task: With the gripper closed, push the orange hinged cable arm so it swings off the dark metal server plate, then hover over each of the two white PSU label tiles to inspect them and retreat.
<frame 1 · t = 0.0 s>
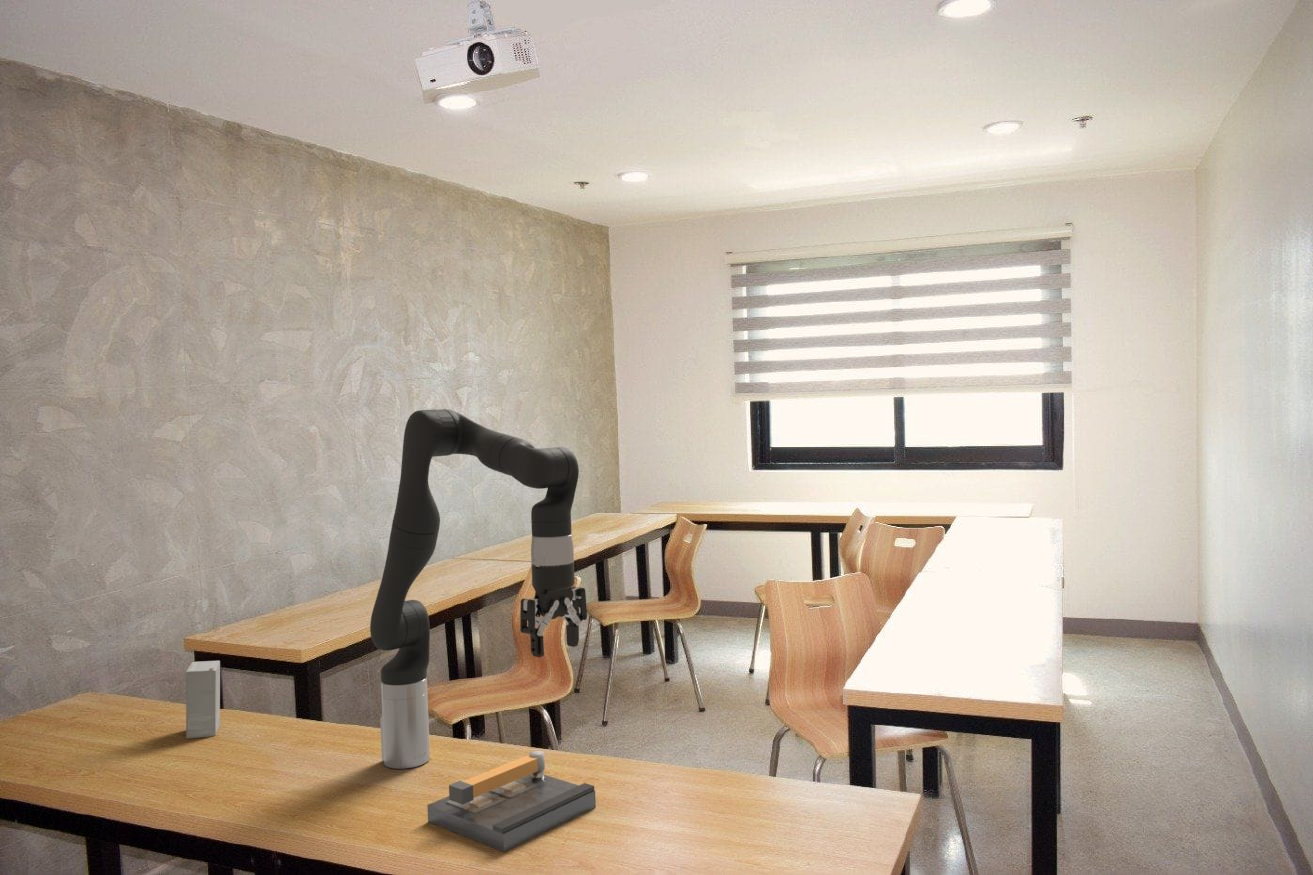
hand: (555, 651, 172), 29 cm above the table, fingers open, 8 cm apart
server plate: (512, 814, 173), on the table
cable arm: (501, 776, 176), point 6 cm above the table, hinge at 0.0°
skincare box: (204, 733, 224), on the table
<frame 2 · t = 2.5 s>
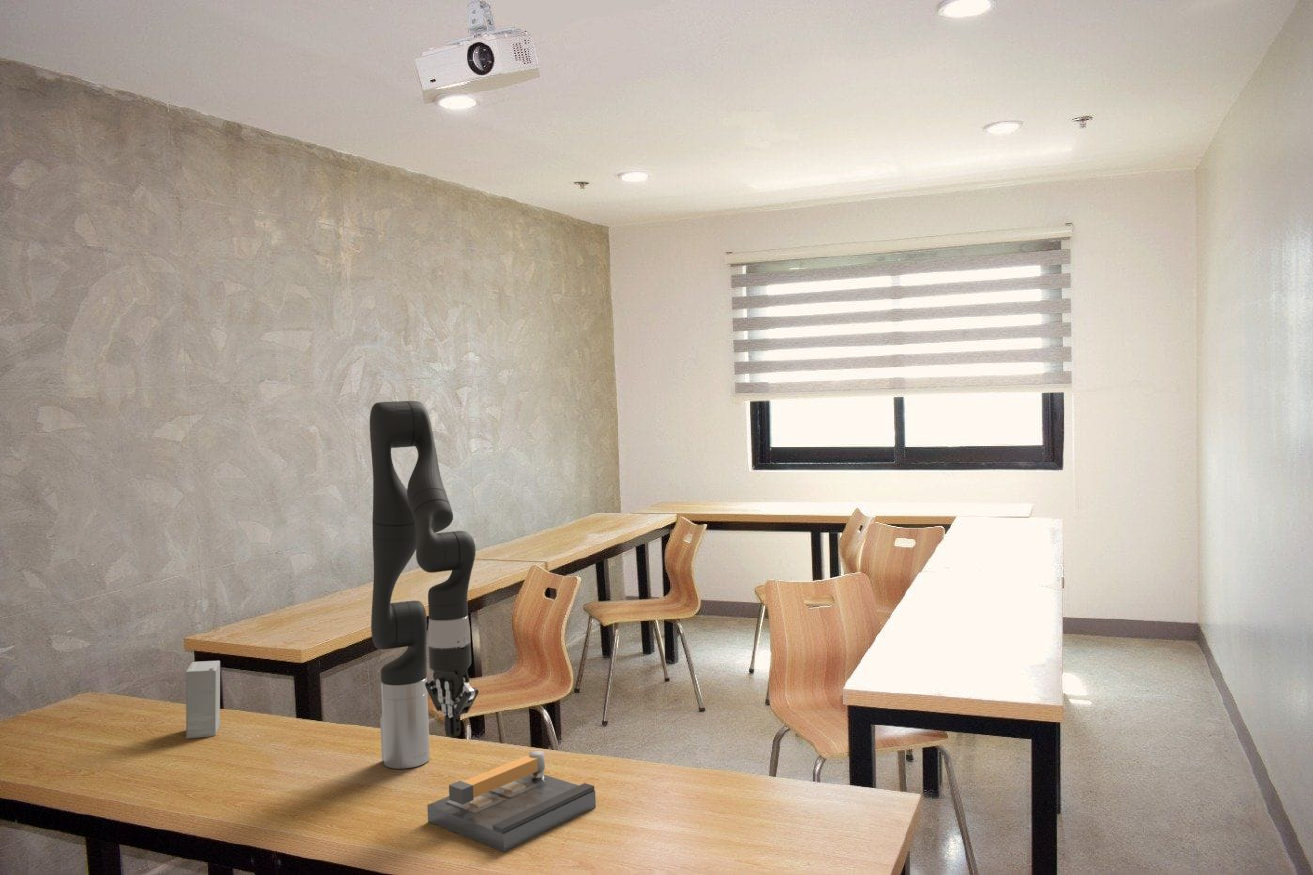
hand: (453, 735, 177), 13 cm above the table, fingers closed
nothing on the table moved.
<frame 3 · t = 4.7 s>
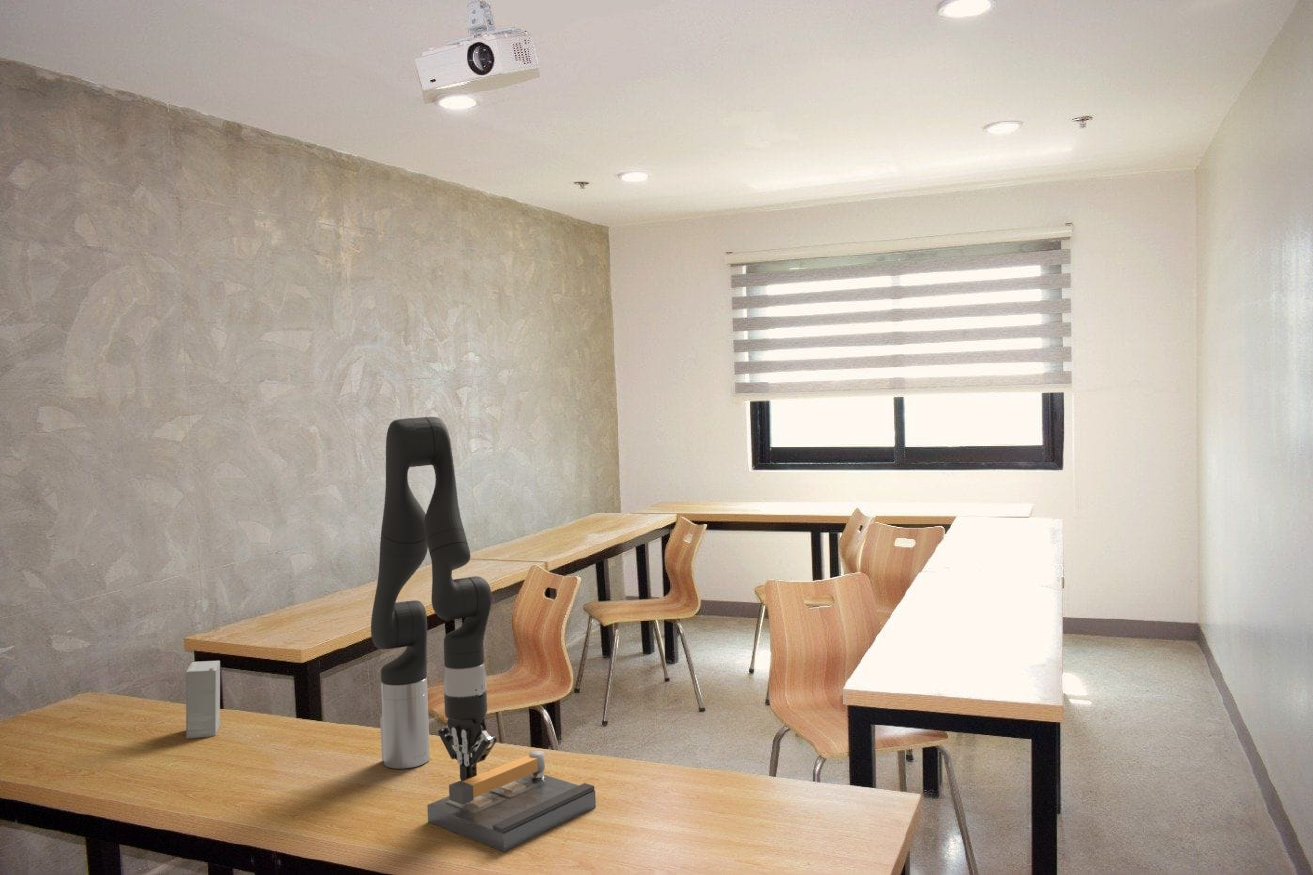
hand: (468, 783, 175), 5 cm above the table, fingers closed
cable arm: (501, 776, 176), point 6 cm above the table, hinge at 0.0°, touching gripper
everything else where it was.
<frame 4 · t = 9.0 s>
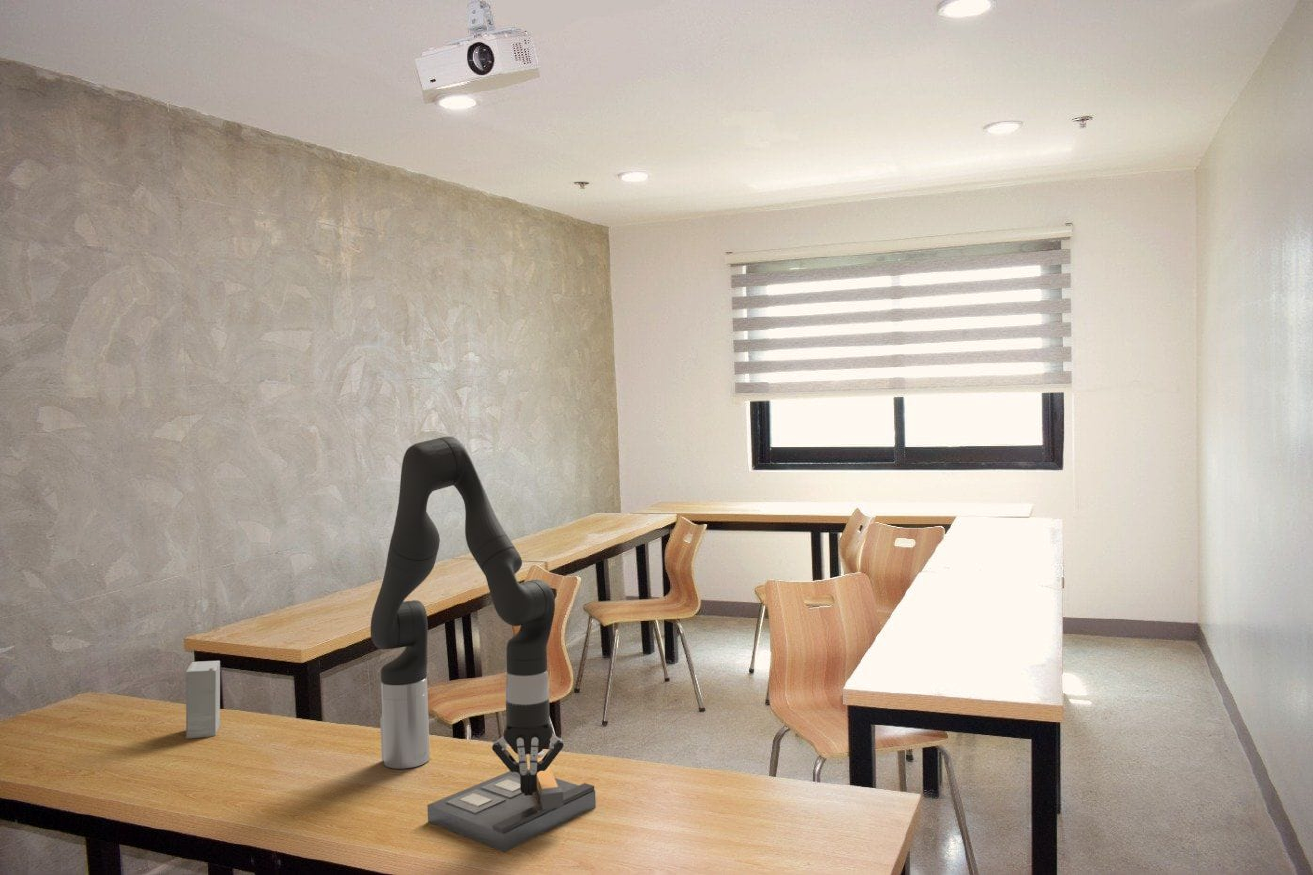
hand: (529, 793, 170), 5 cm above the table, fingers closed
cable arm: (543, 778, 175), point 6 cm above the table, hinge at 54.3°, touching gripper
everything else where it was.
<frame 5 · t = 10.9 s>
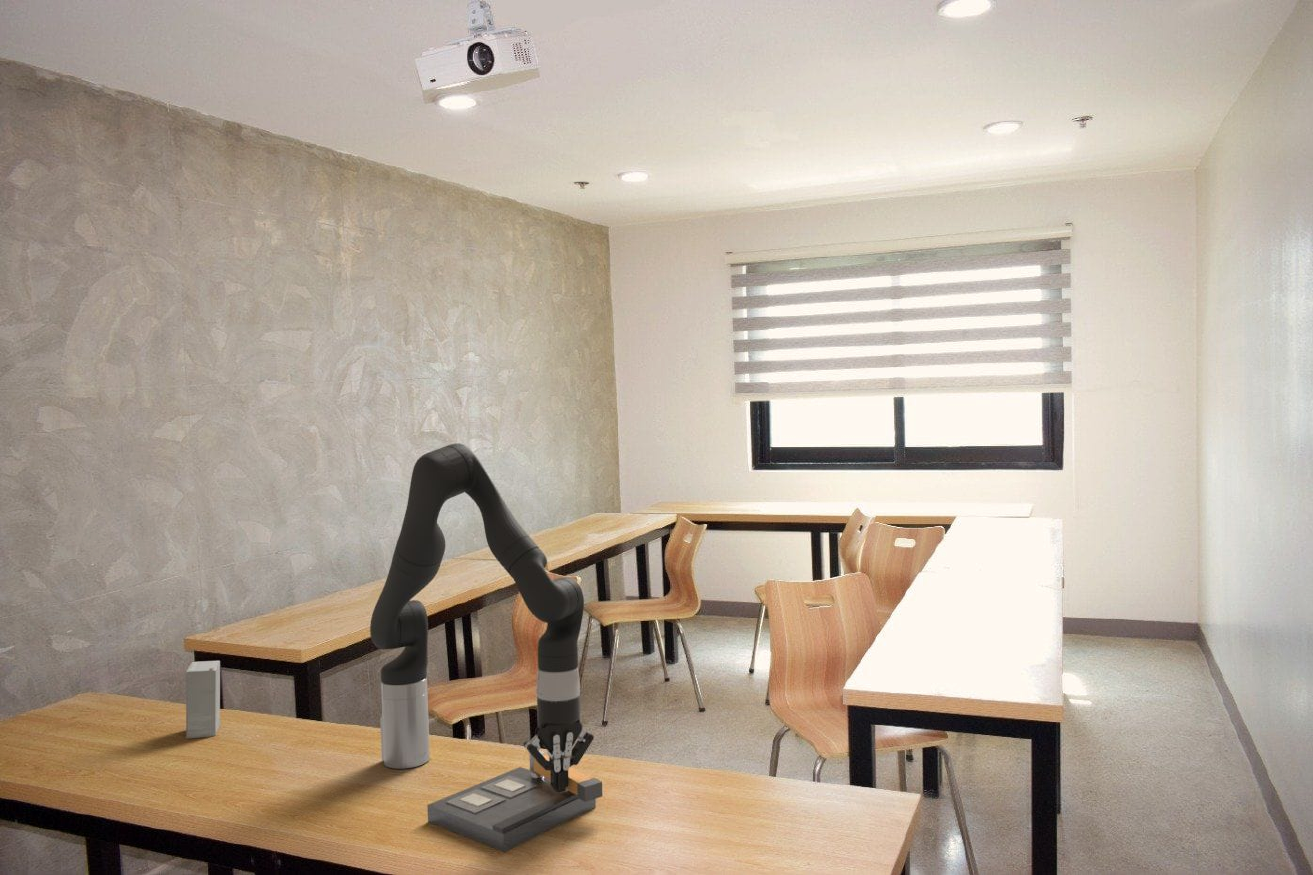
hand: (559, 790, 171), 5 cm above the table, fingers closed
cable arm: (562, 774, 176), point 6 cm above the table, hinge at 76.6°, touching gripper
everything else where it was.
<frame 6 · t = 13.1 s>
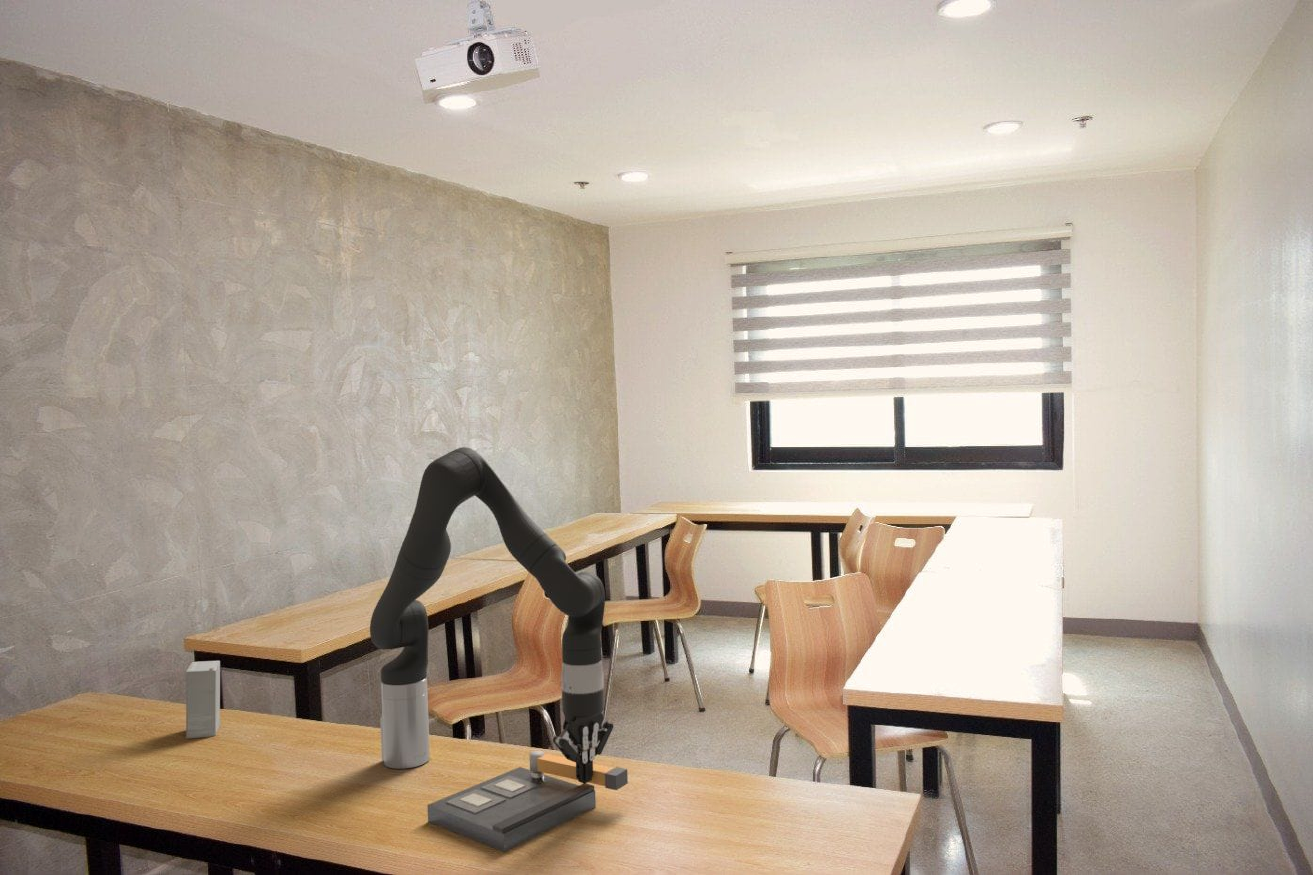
hand: (584, 781, 174), 5 cm above the table, fingers closed
cable arm: (575, 769, 179), point 6 cm above the table, hinge at 97.4°
everything else where it was.
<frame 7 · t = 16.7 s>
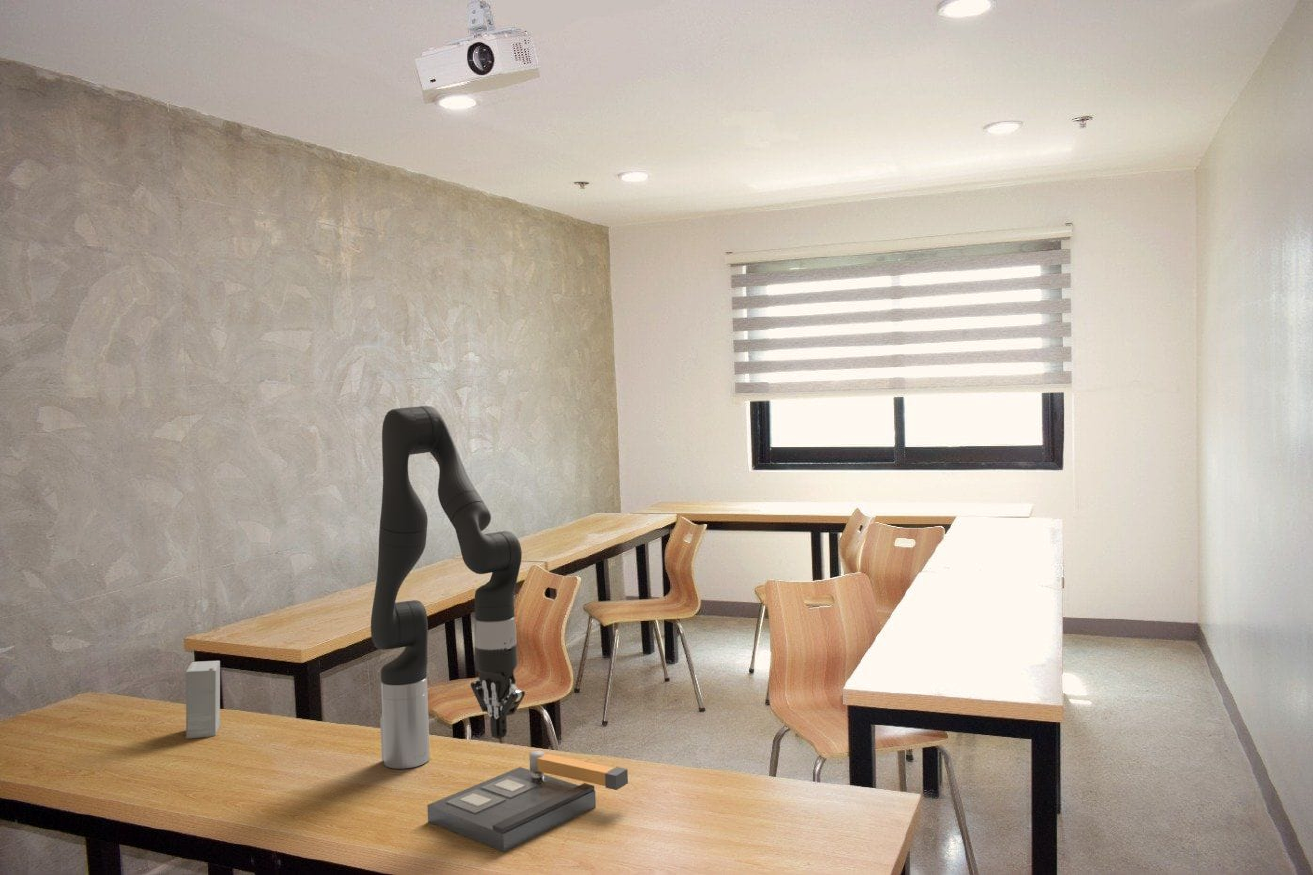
hand: (498, 736, 176), 13 cm above the table, fingers closed
nothing on the table moved.
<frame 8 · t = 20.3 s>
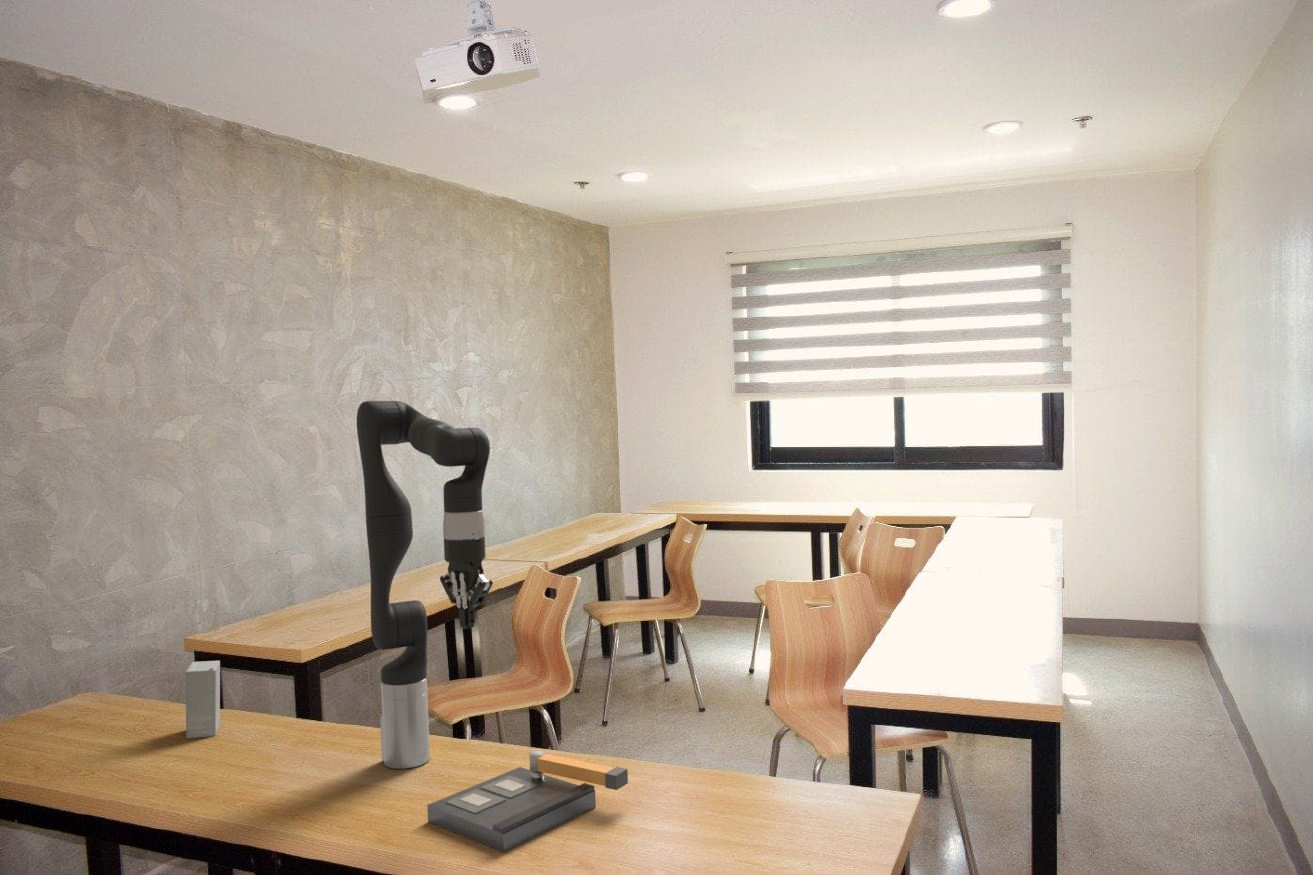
hand: (467, 627, 181), 32 cm above the table, fingers closed
nothing on the table moved.
at the end: cable arm at +98° (first picture: +0°) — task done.
